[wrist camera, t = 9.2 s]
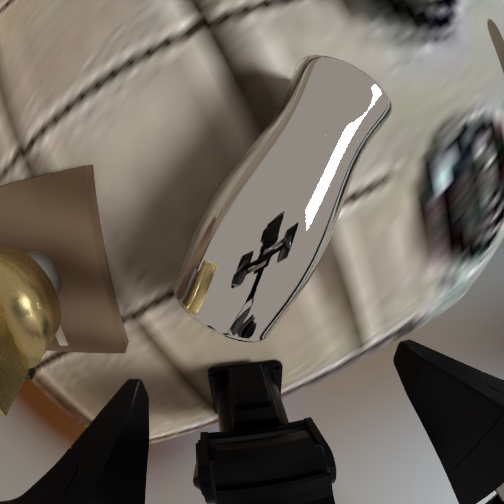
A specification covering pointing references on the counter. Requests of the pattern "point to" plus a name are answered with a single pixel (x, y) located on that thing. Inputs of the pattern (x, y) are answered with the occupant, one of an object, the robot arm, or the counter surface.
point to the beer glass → (281, 202)
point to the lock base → (67, 255)
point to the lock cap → (23, 320)
